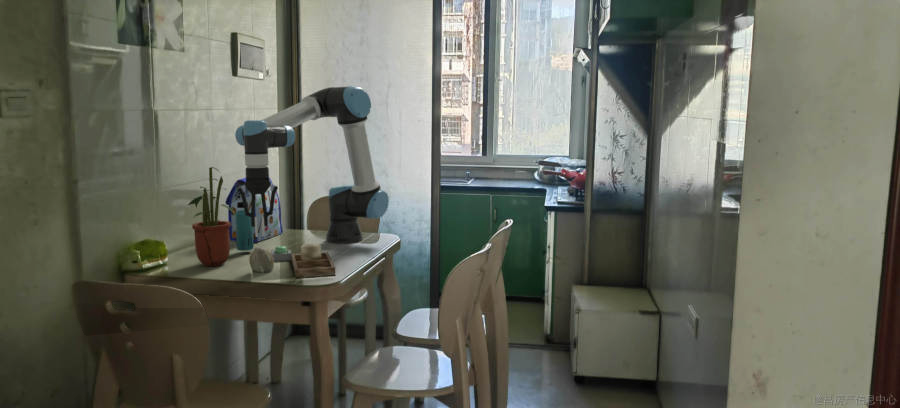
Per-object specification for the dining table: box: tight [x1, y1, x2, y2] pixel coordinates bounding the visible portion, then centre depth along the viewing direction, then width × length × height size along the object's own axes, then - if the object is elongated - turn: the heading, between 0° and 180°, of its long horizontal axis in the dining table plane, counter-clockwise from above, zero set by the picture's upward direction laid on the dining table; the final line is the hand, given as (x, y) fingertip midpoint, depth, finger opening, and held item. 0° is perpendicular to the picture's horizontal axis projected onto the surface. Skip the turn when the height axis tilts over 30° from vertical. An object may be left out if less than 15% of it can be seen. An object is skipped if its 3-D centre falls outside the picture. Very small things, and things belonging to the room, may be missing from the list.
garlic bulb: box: [248, 247, 275, 273], centre depth 236 cm, size 9×8×10 cm
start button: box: [274, 245, 288, 254], centre depth 254 cm, size 4×4×4 cm
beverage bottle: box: [235, 202, 255, 252], centre depth 269 cm, size 6×7×20 cm
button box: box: [270, 249, 293, 262], centre depth 254 cm, size 7×7×4 cm
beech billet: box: [300, 243, 322, 261], centre depth 247 cm, size 7×7×6 cm
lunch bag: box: [225, 177, 283, 243], centre depth 299 cm, size 23×17×27 cm
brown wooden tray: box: [291, 251, 336, 280], centre depth 241 cm, size 13×25×3 cm, turn 16°
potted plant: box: [187, 166, 236, 267], centre depth 246 cm, size 17×16×35 cm
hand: (260, 235), depth 235 cm, fingers open, 1 cm apart
